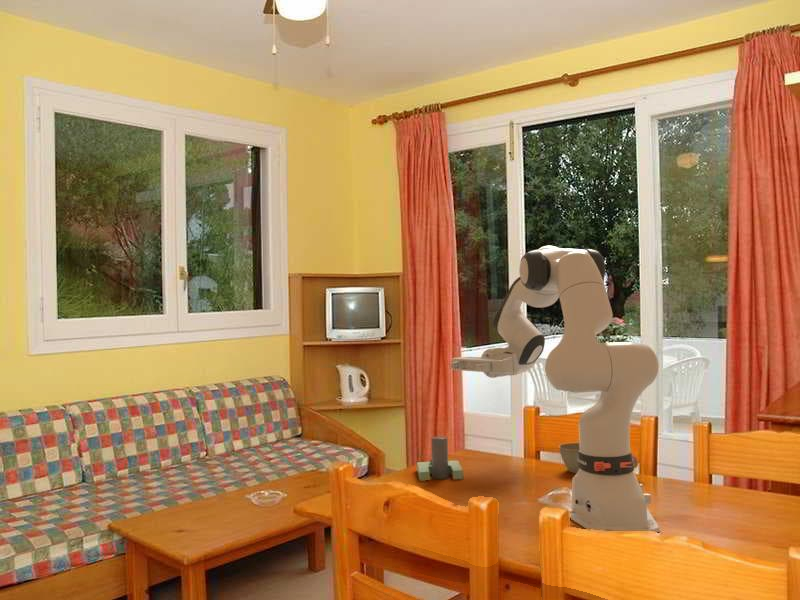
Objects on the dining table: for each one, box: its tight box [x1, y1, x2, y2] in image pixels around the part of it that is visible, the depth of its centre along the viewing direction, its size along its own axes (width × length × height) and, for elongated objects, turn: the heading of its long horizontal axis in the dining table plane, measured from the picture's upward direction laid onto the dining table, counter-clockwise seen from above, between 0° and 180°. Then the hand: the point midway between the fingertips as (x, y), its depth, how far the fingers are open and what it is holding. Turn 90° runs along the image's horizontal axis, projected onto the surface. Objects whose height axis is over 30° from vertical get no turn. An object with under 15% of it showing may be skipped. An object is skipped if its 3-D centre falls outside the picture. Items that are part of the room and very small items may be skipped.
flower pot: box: [558, 442, 580, 474], centre depth 204 cm, size 10×10×7 cm
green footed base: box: [416, 457, 464, 482], centre depth 205 cm, size 12×12×4 cm
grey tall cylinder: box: [430, 436, 450, 480], centre depth 202 cm, size 4×4×11 cm
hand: (463, 367), depth 210 cm, fingers open, 8 cm apart
